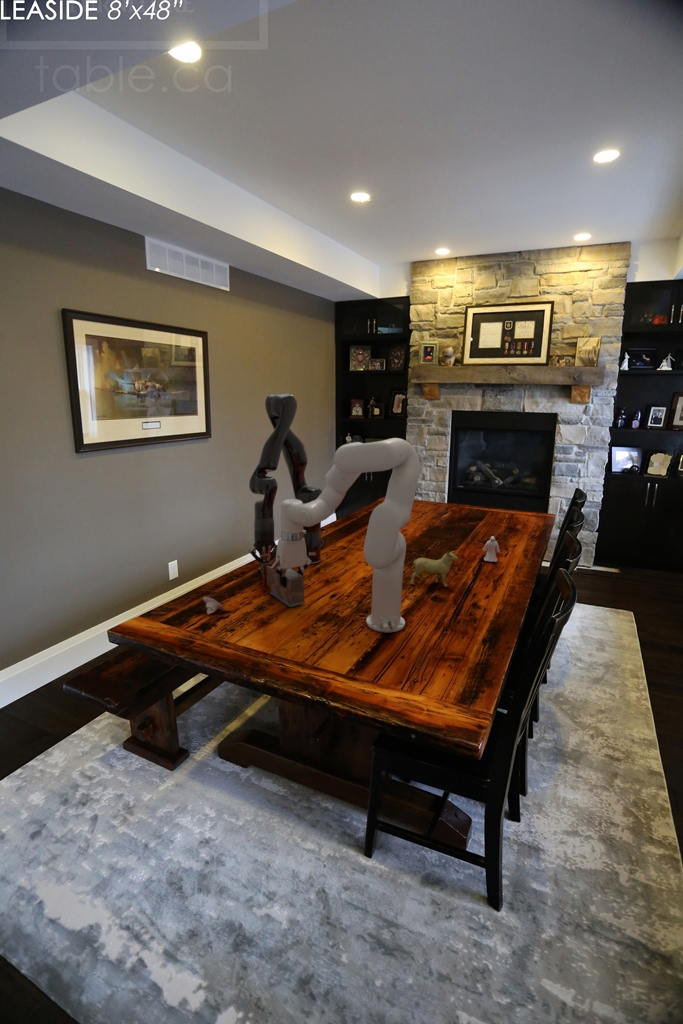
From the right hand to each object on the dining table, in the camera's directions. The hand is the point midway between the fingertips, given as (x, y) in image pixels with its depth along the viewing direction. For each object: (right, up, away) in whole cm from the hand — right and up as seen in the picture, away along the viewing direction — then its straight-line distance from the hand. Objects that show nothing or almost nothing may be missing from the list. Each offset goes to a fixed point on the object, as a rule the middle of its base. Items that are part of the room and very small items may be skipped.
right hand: (291, 584), depth 176 cm
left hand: (-12, +2, +18) cm, 22 cm away
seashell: (-26, -9, -7) cm, 28 cm away
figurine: (+85, +3, +49) cm, 98 cm away
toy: (+53, -3, +20) cm, 57 cm away
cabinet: (-2, -6, +5) cm, 8 cm away
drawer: (-8, -3, +14) cm, 16 cm away
